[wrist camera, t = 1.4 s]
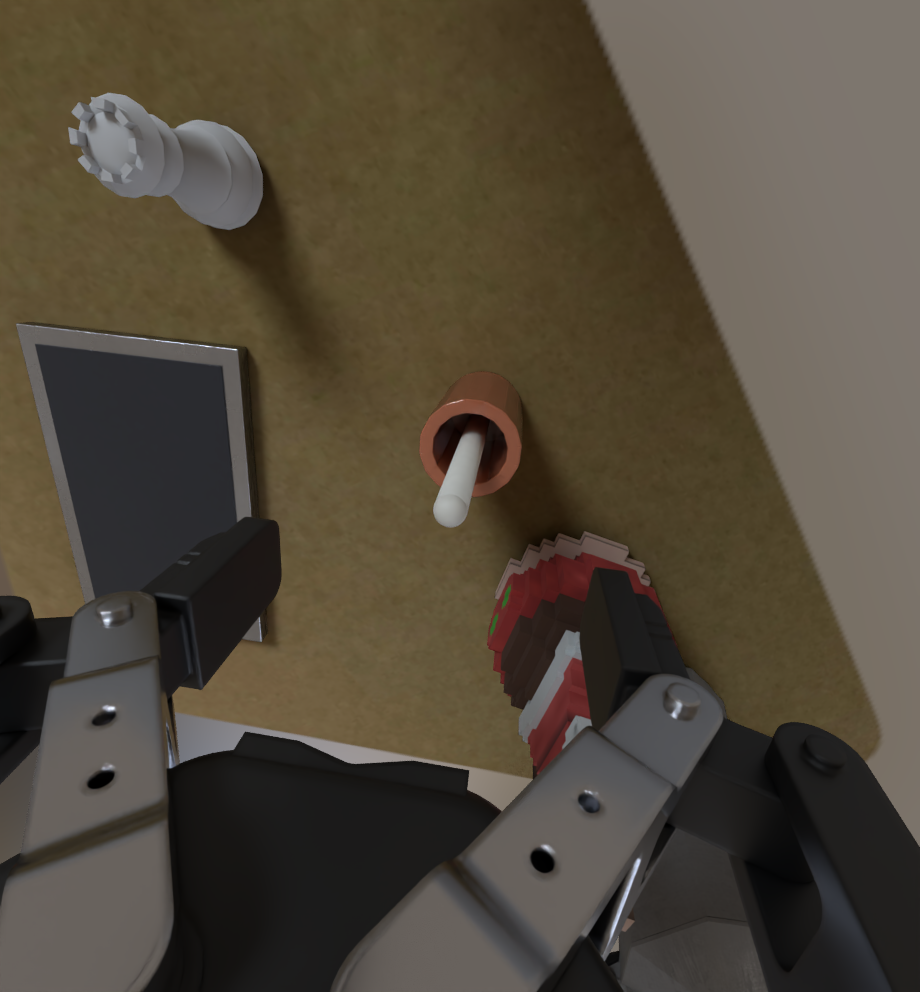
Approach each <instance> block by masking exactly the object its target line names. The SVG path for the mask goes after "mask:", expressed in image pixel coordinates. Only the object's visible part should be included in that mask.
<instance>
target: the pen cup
mask: <svg viewBox="0 0 920 992" xmlns="http://www.w3.org/2000/svg"><path fill="white" fill-rule="evenodd" d="M470 414H478V415H483V416H484V417H486V418H488V419H490V423H489V427H488V432H487V436H486V440H485V444H484V448H483V452H482V456H481V460H480V464H479V468H478V472H477V476H476V480H475V484H474V488H473V492H472V496H471V497H479V496H483V495H488V494H492V493H494V492H496V491H497V490H499V489H500V488H501V487H503V486H504V485H506V484H507V483H508V482H509V481H510V480H511V478H512V477H513V475H514V473H515V472H516V470H517V469H518V466H519V464H520V457H521V450H522V419H523V412H522V404H521V400H520V397H519V395H518V393H517V391H516V389H515V388H514V386H513V385H512V384H511V383H510V382H509V381H508V380H506V379H505V378H503V377H502V376H500V375H498V374H495V373H492V372H485V371H479V372H473V373H469V374H467V375H464V376H463V377H461V378H459V379H458V380H457V381H456V382H455V383H454V384H453V385H452V386H451V387H450V388H449V389H448V391H447V392H446V394H445V395H444V396H443V398H442V399H441V401H440V402H439V404H438V405H437V407H436V408H435V410H434V411H433V412H432V414H431V415H430V417H429V418H428V420H427V422H426V424H425V426H424V428H423V430H422V432H421V435H420V448H419V452H420V457H421V460H422V463H423V466H424V468H425V471H426V472H427V474H428V475H429V476H430V477H431V478H432V479H433V480H434V482H435V483H436V484H437V485H439V486H440V487H441V486H442V484H443V481H444V479H445V476H446V474H447V471H448V469H449V466H450V464H451V461H452V459H453V456H454V454H455V451H456V449H457V446H458V444H459V442H460V439H461V437H462V434H463V432H464V429H465V427H466V424H467V422H468V419H469V417H470Z"/></svg>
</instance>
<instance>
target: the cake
mask: <svg viewBox="0 0 920 992" xmlns="http://www.w3.org/2000/svg"><path fill="white" fill-rule="evenodd" d="M628 553H629V550H628V547H627V546H625V545H622V544H619V543H617V542H614V541H611V540H608V539H605V538H603V537H600V536H597V535H594V534H591V533H589V532H586V531H584V533H583V535H582V537H581V539H580V540H577V539H574V538H572V537H569V536H566V535H563V534H560V533H558V535H557V537H556V539H555V541H554V542H552V541H550V540H547V539H543V541H542V543H541V545H540V547H537V546H534V545H531V544H529V545H528V547H527V549H526V551H525V554H524V556H523V558H522V560H521V562H520V561H518V560H515V559H512V558H510V560H509V563H508V565H507V567H506V570H505V572H504V574H503V576H502V579H501V581H500V583H499V585H498V588H497V590H496V592H495V598H496V599H499V600H498V603H497V605H496V607H495V609H494V613H493V616H492V619H491V623H490V626H489V632H488V642H487V645H488V646H489V647H488V649H490V650H493V651H495V655H494V667H493V670H494V671H497V672H499V673H501V682H500V683H502V684H504V693H506V694H508V696H511V706H514V707H517V708H520V709H523V712H522V714H521V716H520V717H519V735H521V736H523V741H524V742H526V743H528V744H530V757H532V758H533V779H534V778H535V777H536V776H537V775H538V774H539V773H540V772H541V771H542V770H543V769H544V768H545V767H546V766H547V765H548V764H549V763H550V762H551V761H552V760H553V759H554V758H555V757H556V756H557V755H558V754H559V753H560V752H561V751H562V750H563V748H564V747H565V746H566V745H567V744H568V743H569V742H570V741H571V740H572V739H573V738H574V737H575V736H576V735H577V734H578V733H579V732H580V731H581V730H582V729H583V728H585V727H586V726H592V724H591V717H590V711H589V704H588V697H587V690H586V684H585V677H584V670H583V663H582V657H581V650H580V625H581V619H582V614H583V610H584V606H585V602H586V597H587V593H588V589H589V584H590V580H591V576H592V573H593V570H594V568H595V567H600V568H607V569H614V570H621V571H626V572H627V573H628V575H629V578H630V581H631V584H632V587H633V590H634V593H639V594H645V595H648V596H649V597H650V598H651V599H652V600H653V601H654V602H655V603H656V604H657V605H658V606H659V607H660V608H661V605H660V603H659V601H658V598H657V596H656V593H655V590H654V588H652V587H649V584H650V583H651V581H650V578H649V576H648V575H645V574H643V573H644V571H645V566H644V564H643V563H642V562H639V561H636V560H633V559H631V558H628V557H627V555H628ZM661 609H662V608H661ZM662 612H663V610H662ZM663 614H664V613H663ZM664 617H665V615H664ZM665 619H666V617H665ZM666 621H667V620H666ZM667 627H669V625H668V622H667ZM669 629H670V627H669ZM670 631H671V629H670ZM671 634H672V632H671ZM672 636H673V634H672ZM672 639H673V640H674V641H675V639H674V637H672ZM675 643H676V642H675ZM676 646H677V644H676ZM634 922H635V918H634V912H633V908H632V910H631V912H630V914H629V916H628V918H627V920H626V922H625V924H624V926H623V928H622V930H621V931H624V932H626V931H627V929H628V928H629V927H630V926H631V925H632V924H633V923H634Z"/></svg>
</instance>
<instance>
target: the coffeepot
mask: <svg viewBox="0 0 920 992" xmlns="http://www.w3.org/2000/svg"><path fill="white" fill-rule="evenodd" d="M685 668H686V670H687V672H688V675H689V677H690V680H691V681H693V682H695V683H697V684H698V685H700V686H702V687H703V688H704V689H706V690H707V691H708V692H709V693H710V694H711V695H712V696H713V697H714V698H715V699H716V700H717V702H718V703H719V705H720V707H721V709H722V712H723V717H725V718H726V719H727V715H726V711H725V706H724V702H723V701H722V700H721V699H720V698H719V697H718V696H717V694H716V693H715V692H714V691H713V690H712V689H711V687H710V686H709V685H708V684H707V682H706V681H704V680H703V679H702V678H701V677H700V676H698V675H697V674H696V673H695V672H694V670H693V669H692V668H687V667H685ZM633 912H634V918H635V922H634V923H633V924H632V925H631V926H630V927H629V928H628V929H627V931H626V932H624V931H621V932H620V934H619V951H616V952H611V953H609V955H608V956H607V958H606V960H605V962H606V964H607V965H608V967H609V969H610V970H611V972H612V973H613V975H614V976H615V978H616V980H617V981H618V983H619V984H620V986H621V987H622V989H623V991H624V992H768V989H767V986H766V982H765V979H764V976H763V972H762V969H761V965H760V962H759V959H758V955H757V952H756V948H755V945H754V942H753V938H752V935H751V931H750V928H749V925H748V921H747V918H746V914H745V911H744V908H743V904H742V901H741V897H740V894H739V891H738V887H737V884H736V880H735V877H734V874H733V870H732V867H731V863H730V860H729V857H728V853H727V852H726V851H724V850H722V849H720V848H718V847H715V846H713V845H711V844H709V843H707V842H705V841H703V840H701V839H699V838H697V837H695V836H693V835H691V834H688V833H686V832H684V831H682V830H680V829H678V831H677V832H676V834H675V836H674V837H673V839H672V841H671V842H670V844H669V846H668V848H667V849H666V851H665V853H664V854H663V856H662V858H661V859H660V861H659V863H658V865H657V866H656V868H655V870H654V871H653V873H652V875H651V876H650V878H649V880H648V881H647V883H646V885H645V887H644V888H643V890H642V892H641V893H640V895H639V897H638V899H637V900H636V902H635V904H634V906H633Z"/></svg>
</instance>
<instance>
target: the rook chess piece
mask: <svg viewBox="0 0 920 992" xmlns="http://www.w3.org/2000/svg"><path fill="white" fill-rule="evenodd" d="M91 99H92V102H91V103H90V104H89V105H86V104H84V103H81V102H79V103H78V104H77V105H76V107H75V108H74V109H73V111H72V112H71V113H73V114H74V115H75V116H76V117H77V118H78V119H80V120H81V122H80V127H79V131H78V130H75V129H72V128H69V127H68V128H69V136H70V143H71V144H73V145H77V146H80V147H81V148H82V151H83V153H84V155H85V156H84V155H83V156H82V157H80V158H79V159H78V161H79V162H80V163H81V164H82V165H83V167H84V168H85V169H86V170H87V172H89V173H93V174H95V175H96V177H97V178H98V179H99V180H100V182H101V183H102V184H103V185H104V186H105V187H107V188H108V189H110V190H112V191H113V192H115V193H116V194H118V195H119V196H125V197H131V198H138V197H140V196H143V195H150V196H156V197H161V196H164V195H168V196H171V197H173V199H174V200H175V201H176V202H177V204H178V205H179V206H180V207H181V209H182V210H183V211H184V212H185V213H187V214H188V215H190V216H191V217H193V218H194V219H196V220H198V221H199V222H201V223H202V224H206V225H210V226H212V227H215V228H221V229H227V230H231V229H234V228H237V227H241V226H244V225H245V224H246V223H247V222H248V221H249V220H250V219H251V218H252V217H253V216H254V215H255V214H256V213H257V210H258V208H259V205H260V202H261V200H262V197H263V174H262V171H261V168H260V165H259V162H258V159H257V156H256V154H255V153H254V151H253V150H252V148H251V147H250V146H249V144H248V143H247V142H246V140H245V139H244V138H243V137H242V136H241V135H239V134H238V133H236V132H235V131H233V130H232V129H230V128H229V127H227V126H223V125H219V124H217V123H215V122H209V121H203V120H193V121H190V122H187V123H185V124H182V125H179V126H178V127H177V128H175V129H172V128H169V126H168V125H167V124H166V123H165V122H163V121H162V120H160V119H159V118H157V117H156V116H154V115H150V114H148V113H147V112H146V111H145V109H144V108H143V107H142V106H141V105H139V104H138V103H136V102H135V101H133V100H132V99H130V98H129V97H127V96H126V95H120V94H113V93H107V94H104V95H102V96H99V97H97V98H94V97H91Z"/></svg>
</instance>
